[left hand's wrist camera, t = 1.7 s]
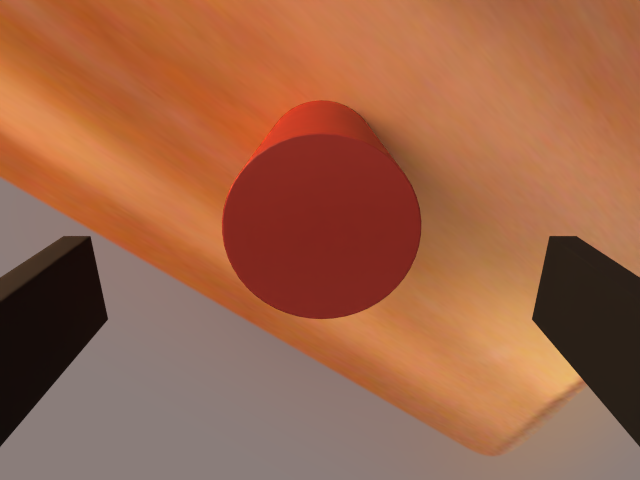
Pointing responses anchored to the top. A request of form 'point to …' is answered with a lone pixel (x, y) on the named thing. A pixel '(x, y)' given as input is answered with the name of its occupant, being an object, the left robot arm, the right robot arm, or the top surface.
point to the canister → (321, 216)
